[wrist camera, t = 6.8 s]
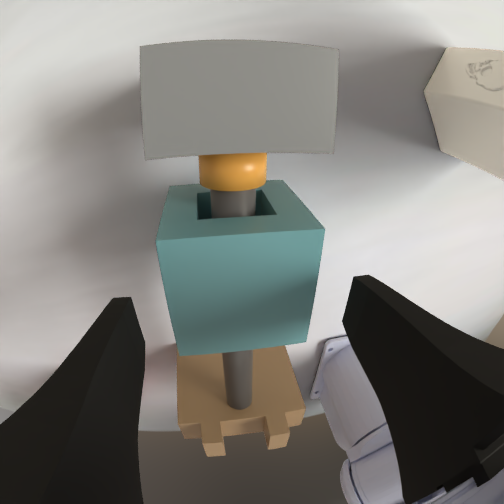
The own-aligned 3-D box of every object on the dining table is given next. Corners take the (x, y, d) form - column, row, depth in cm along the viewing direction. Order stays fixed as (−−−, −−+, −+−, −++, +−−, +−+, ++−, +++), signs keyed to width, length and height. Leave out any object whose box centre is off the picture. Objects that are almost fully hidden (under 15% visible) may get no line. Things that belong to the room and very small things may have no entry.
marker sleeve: (277, 272, 16) (306, 342, 11) (181, 280, 15) (179, 356, 11) (282, 179, 13) (325, 228, 9) (169, 186, 12) (155, 240, 8)
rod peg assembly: (278, 353, 24) (306, 442, 17) (182, 363, 23) (186, 457, 15) (298, 69, 13) (395, 59, 6) (141, 73, 12) (76, 56, 5)
